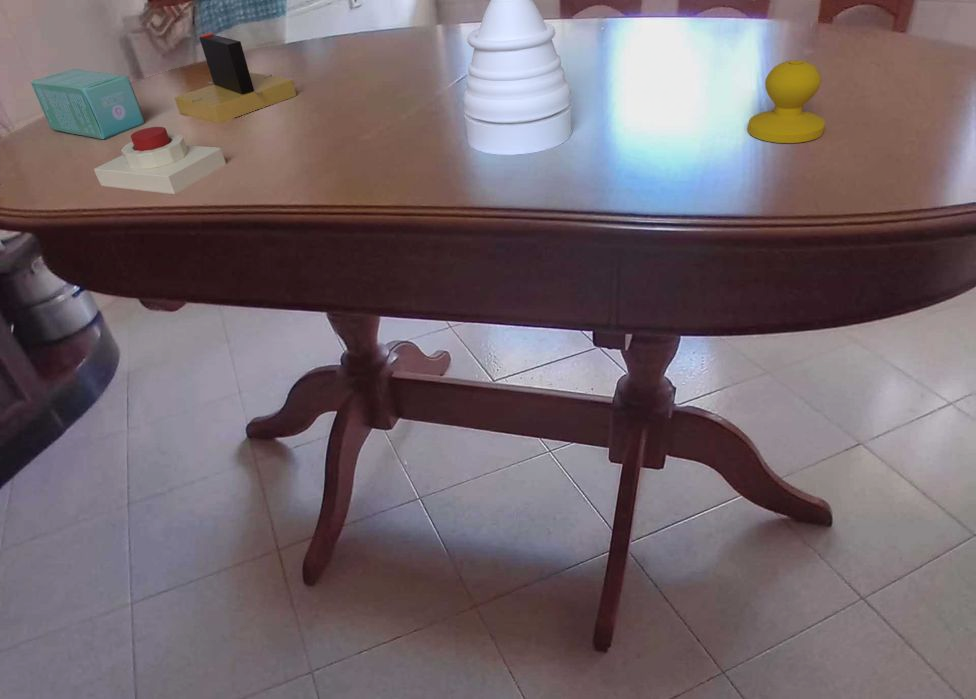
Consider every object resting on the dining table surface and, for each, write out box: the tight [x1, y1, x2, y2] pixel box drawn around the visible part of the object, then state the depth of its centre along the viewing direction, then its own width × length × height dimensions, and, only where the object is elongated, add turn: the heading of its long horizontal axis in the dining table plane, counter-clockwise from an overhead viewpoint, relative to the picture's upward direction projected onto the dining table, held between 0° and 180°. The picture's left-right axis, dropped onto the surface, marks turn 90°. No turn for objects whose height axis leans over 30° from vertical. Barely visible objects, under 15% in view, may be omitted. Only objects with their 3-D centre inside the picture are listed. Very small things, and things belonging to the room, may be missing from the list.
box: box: [30, 68, 145, 140], centre depth 103 cm, size 7×14×8 cm, turn 59°
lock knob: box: [199, 32, 254, 95], centre depth 105 cm, size 10×2×7 cm, turn 42°
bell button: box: [130, 126, 171, 151], centre depth 83 cm, size 4×4×2 cm
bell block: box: [93, 132, 227, 195], centre depth 85 cm, size 12×9×4 cm
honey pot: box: [462, 0, 573, 156], centre depth 81 cm, size 13×13×18 cm
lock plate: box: [173, 72, 297, 124], centre depth 108 cm, size 14×14×3 cm
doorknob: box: [747, 59, 826, 144], centre depth 77 cm, size 8×8×8 cm
